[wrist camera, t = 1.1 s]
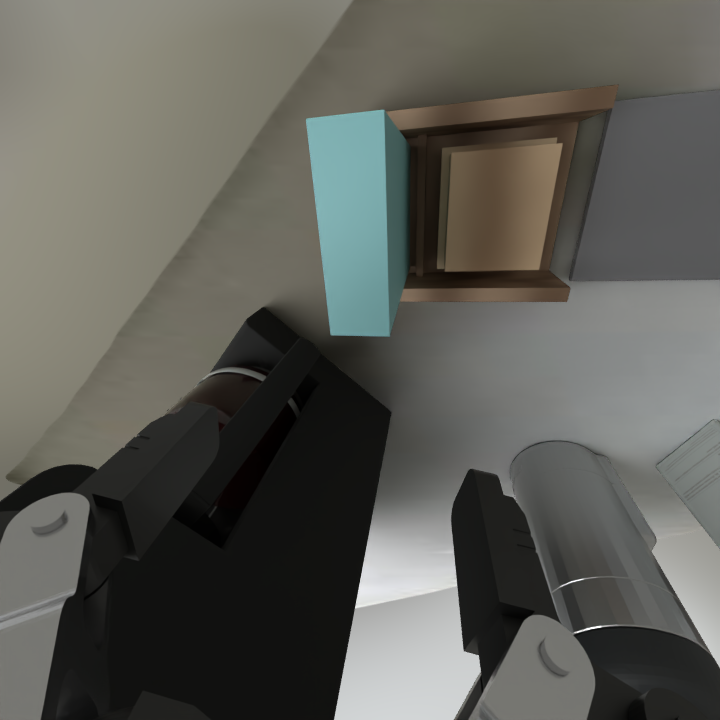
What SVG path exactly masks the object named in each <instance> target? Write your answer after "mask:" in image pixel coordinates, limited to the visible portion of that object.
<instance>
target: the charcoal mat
mask: <svg viewBox="0 0 720 720" xmlns="http://www.w3.org/2000/svg"><path fill="white" fill-rule="evenodd" d="M569 280H570V281H634V280H720V90H711V91H702V92H693V93H683V94H674V95H665V96H656V97H646V98H637V99H628V100H619V101H615V103H614V107H613V108H612V109H609V110H608V113H607V118H606V122H605V126H604V130H603V135H602V139H601V143H600V148H599V152H598V156H597V160H596V165H595V169H594V173H593V178H592V182H591V186H590V191H589V195H588V199H587V203H586V208H585V212H584V216H583V221H582V225H581V229H580V234H579V238H578V242H577V246H576V251H575V255H574V259H573V264H572V268H571V272H570V276H569Z"/></svg>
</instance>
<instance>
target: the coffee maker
mask: <svg viewBox="0 0 720 720" xmlns="http://www.w3.org/2000/svg"><path fill="white" fill-rule="evenodd" d="M207 376H208V377H207ZM207 376H205V377H204V378H206V377H207V378H206V379H205V380H203V379H204V378H203V379H202V380H203V381H202V380H201V381H200V382H199V383H198V384H197V385H196V387H195V388H194V389H193V390H191V391H190V392H189V393H188V394H187V395H186V396H185V397H183V398H181V399H180V401H179V402H178V403H177V404H175V405H174V406H173V407H172V408H171V409H170V410H169V409H168V410H169V411H168V410H167V411H168V412H167V413H166V414H165V415H167V414H169V413H170V414H174V415H175V414H176V413H178V412H179V411H180V410H181V409H182V408H183V407H184V406H185V405H186V404H187V403H189V402H197V403H201V404H205V405H210V406H214V407H216V408H217V411H218V425H219V449H218V452H217V455H216V457H215V459H214V461H213V462H212V464H211V465H210V466H209V468H208V469H207V470H206V472H205V473H204V475H203V476H202V477H201V479H200V480H199V481H198V483H197V484H196V485H195V487H194V488H193V489H192V491H191V492H190V493H189V495H188V496H187V497H186V499H185V500H184V501H183V503H182V504H181V505H180V507H179V508H178V509H177V511H176V512H175V513H174V515H173V516H172V517H171V519H170V520H169V521H168V523H167V524H166V525H165V527H164V528H163V529H162V531H161V532H160V533H159V535H158V536H157V537H156V539H155V540H154V542H153V543H152V544H151V546H150V547H149V548H148V550H147V551H146V552H145V554H144V555H143V556H142V558H141V559H140V560H139V561H137V560H133V559H130V558H126V557H123V558H122V559H121V560H120V561H119V563H118V564H117V565H116V566H115V568H114V569H113V571H114V577H113V589H112V601H111V613H110V625H109V637H108V650H107V663H108V671H109V681H110V702H109V712H112V711H115V710H119V709H123V708H127V707H132V706H135V704H136V702H137V700H138V699H139V697H140V695H141V693H142V691H146V692H150V693H153V694H156V695H160V696H163V697H167V698H170V699H173V700H177V701H180V702H183V703H187V704H190V705H194V706H195V707H196V708H197V709H199V710H200V711H201V712H202V713H204V714H205V715H206V716H207V717H208V718H210V719H211V720H334V716H335V711H336V706H337V700H338V695H339V690H340V685H341V679H342V674H343V668H344V663H345V658H346V653H347V647H348V642H349V637H350V631H351V626H352V621H353V615H354V610H355V605H356V599H357V594H358V589H359V583H360V578H361V573H362V567H363V562H364V557H365V551H366V546H367V541H368V535H369V530H370V525H371V519H372V514H373V509H374V503H375V498H376V493H377V487H378V482H379V477H380V471H381V466H382V461H383V455H384V450H385V445H386V439H387V434H388V429H389V423H390V418H391V411H390V410H388V409H387V408H386V407H385V406H384V405H382V404H381V403H380V402H379V401H377V400H376V399H375V398H374V397H373V396H371V395H370V394H369V393H368V392H366V391H365V390H364V389H363V388H361V387H360V386H359V385H358V384H357V383H355V382H354V381H353V380H352V379H350V378H349V377H348V376H347V375H346V374H344V373H343V372H342V371H341V370H339V369H338V368H337V367H336V366H335V365H333V364H332V363H331V362H330V361H328V360H327V359H326V358H325V357H324V356H322V355H321V354H320V351H319V350H318V349H317V348H316V347H315V346H314V345H313V344H312V343H311V342H310V341H308V340H306V339H304V338H302V337H299V336H298V335H297V334H295V333H294V332H293V331H292V330H291V329H289V328H288V327H287V326H286V325H284V324H283V323H282V322H281V321H280V320H278V319H277V318H276V317H275V316H273V315H272V314H271V313H270V312H269V311H267V310H266V309H265V308H264V307H262V308H261V309H260V310H258V311H257V312H255V313H254V314H253V315H251V316H250V317H249V318H247V319H246V321H245V322H244V324H243V325H242V327H241V328H240V330H239V331H238V333H237V334H236V336H235V337H234V338H233V340H232V341H231V343H230V344H229V346H228V347H227V349H226V350H225V352H224V353H223V355H222V356H221V358H220V359H219V361H218V362H217V363H216V365H215V366H214V368H213V369H212V371H211V372H210V374H208V375H207ZM160 418H161V417H160ZM96 471H97V469H95V468H93V467H90V466H85V465H73V464H68V465H63V466H57V467H54V468H51V469H48V470H46V471H43V472H41V473H39V474H38V475H36V476H34V477H33V478H31V479H30V480H28V481H27V482H26V483H24V484H23V485H22V486H20V487H19V488H18V489H16V490H15V491H13V492H12V493H11V494H9V495H8V496H7V497H5V498H4V499H3V500H1V501H0V512H3V511H21V510H23V509H25V508H26V507H27V506H29V505H31V504H33V503H34V502H36V501H38V500H40V499H43V498H45V497H48V496H51V495H55V494H60V493H71V492H72V491H74V490H75V489H76V488H77V487H79V486H80V485H81V484H82V483H83V482H84V481H85V480H86V479H88V478H89V477H90V476H91V475H92V474H93V473H94V472H96Z"/></svg>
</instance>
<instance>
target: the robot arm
mask: <svg viewBox="0 0 720 720" xmlns="http://www.w3.org/2000/svg"><path fill="white" fill-rule="evenodd" d="M218 449H219V425H218V411H217V408H216V407H214V406H210V405H205V404H201V403H197V402H189V403H187V404H186V405H185V406H184V407H183V408H182V409H181V410H180V411H179V412H178V413H176V414H175V415H174V414H170V413H169V414H167V415H165V416H163V417H161V418H159V419H157V420H155V421H153V422H151V423H150V424H149V425H148V426H146V427H145V428H144V429H143V430H142V431H141V432H140V433H139V434H137V437H134V438H133V439H132V440H131V441H129V442H128V443H127V444H126V446H125V448H122V449H120V450H119V451H118V452H117V453H116V454H115V455H114V456H113V457H111V458H110V459H109V460H108V461H107V462H106V463H105V464H103V465H102V466H101V467H100V468H99V469H98V470H97V471H96V472H94V473H93V474H92V475H91V476H90V477H89V478H88V479H86V480H85V481H84V482H83V483H82V484H81V485H80V486H79V487H77V488H76V489H75V490H74V491H72V492H71V493H60V494H55V495H51V496H48V497H45V498H43V499H40V500H38V501H36V502H34V503H33V504H31V505H29V506H27V507H26V508H25V509H23V510H21V511H3V512H0V720H211V719H210V718H208V717H207V716H206V715H205V714H204V713H202V712H201V711H200V710H199V709H197V708H196V707H195V706H194V705H190V704H187V703H183V702H180V701H177V700H173V699H170V698H167V697H163V696H160V695H156V694H153V693H150V692H146V691H142V693H141V695H140V697H139V699H138V700H137V702H136V704H135V706H132V707H127V708H123V709H119V710H115V711H112V712H109V702H110V681H109V671H108V663H107V650H108V637H109V625H110V613H111V601H112V589H113V577H114V571H113V569H114V568H115V566H116V565H117V564H118V563H119V561H120V560H121V559H122V558H123V557H126V558H130V559H133V560H137V561H139V560H140V559H141V558H142V556H143V555H144V554H145V552H146V551H147V550H148V548H149V547H150V546H151V544H152V543H153V542H154V540H155V539H156V537H157V536H158V535H159V533H160V532H161V531H162V529H163V528H164V527H165V525H166V524H167V523H168V521H169V520H170V519H171V517H172V516H173V515H174V513H175V512H176V511H177V509H178V508H179V507H180V505H181V504H182V503H183V501H184V500H185V499H186V497H187V496H188V495H189V493H190V492H191V491H192V489H193V488H194V487H195V485H196V484H197V483H198V481H199V480H200V479H201V477H202V476H203V475H204V473H205V472H206V470H207V469H208V468H209V466H210V465H211V464H212V462H213V461H214V459H215V457H216V455H217V452H218ZM510 476H511V480H512V486H513V491H514V494H515V497H516V501H517V502H516V501H515V500H514V498H513V497H509V496H505V495H503V491H502V488H501V484H500V480H499V478H498V476H497V475H496V474H491V473H487V472H483V471H479V470H475V469H470V470H469V471H468V472H467V474H466V477H465V479H464V481H463V483H462V485H461V487H460V490H459V492H458V494H457V496H456V498H455V501H454V503H453V508H452V515H451V524H452V534H453V544H454V555H455V565H456V576H457V586H458V596H459V607H460V617H461V627H462V638H463V648H464V651H466V652H469V653H473V654H476V655H479V659H480V667H481V673H480V674H479V675H478V677H477V679H476V681H475V682H474V684H473V686H472V688H471V690H470V691H469V693H468V695H467V697H466V699H465V701H464V702H463V704H462V706H461V708H460V710H459V711H458V714H457V715H456V717H455V719H454V720H720V668H719V666H718V664H717V663H716V661H715V659H714V658H713V656H712V655H711V653H710V651H709V649H708V648H707V646H706V644H705V643H704V641H703V639H702V637H701V636H700V634H699V632H698V630H697V629H696V627H695V625H694V624H693V622H692V620H691V618H690V617H689V615H688V613H687V612H686V610H685V608H684V607H683V605H682V603H681V602H680V600H679V598H678V597H677V595H676V593H675V591H674V590H673V588H672V586H671V585H670V583H669V581H668V579H667V578H666V576H665V574H664V573H663V571H662V569H661V567H660V566H659V564H658V562H657V560H656V559H655V557H654V555H653V554H652V552H651V551H652V549H653V547H654V546H655V544H656V536H655V534H654V533H653V531H652V530H651V528H650V526H649V525H648V523H647V522H646V520H645V518H644V517H643V515H642V513H641V512H640V510H639V509H638V507H637V505H636V504H635V502H634V501H633V499H632V497H631V496H630V494H629V492H628V491H627V489H626V488H625V486H624V484H623V483H622V481H621V480H620V478H619V476H618V475H617V473H616V471H615V470H614V468H613V467H612V465H611V463H610V462H609V460H608V459H607V457H606V456H600V455H595V454H594V453H592V452H591V451H589V450H588V449H586V448H584V447H582V446H580V445H578V444H574V443H570V442H561V441H555V442H545V443H541V444H537V445H534V446H532V447H529V448H528V449H526V450H524V451H523V452H521V453H520V454H519V455H518V456H517V457H516V458H515V460H514V461H513V463H512V465H511V468H510Z"/></svg>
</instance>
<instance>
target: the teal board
mask: <svg viewBox="0 0 720 720" xmlns="http://www.w3.org/2000/svg"><path fill="white" fill-rule="evenodd" d="M306 123H307V132H308V141H309V149H310V158H311V167H312V176H313V184H314V193H315V202H316V211H317V219H318V228H319V237H320V246H321V254H322V263H323V272H324V281H325V289H326V298H327V307H328V316H329V324H330V333H331V335H340V336H385V337H390V333H391V330H392V326H393V323H394V320H395V316H396V313H397V309H398V306H399V302H400V299H401V296H402V292H403V289H404V285H405V282H406V278H407V275H408V272H409V268H410V164H411V146H410V145H409V143H408V142H407V141H406V139H405V138H404V136H403V135H402V134H401V132H400V131H399V129H398V128H397V127H396V125H395V124H394V123H393V121H392V120H391V118H390V117H389V116H388V114H387V113H386V111H385V110H376V111H367V112H359V113H350V114H342V115H334V116H325V117H317V118H308V119H306Z"/></svg>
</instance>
